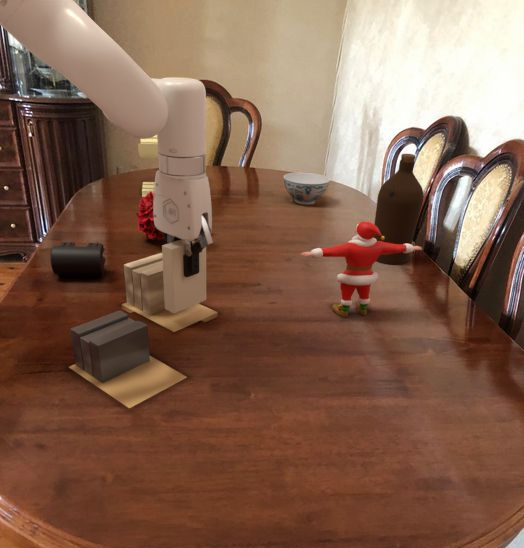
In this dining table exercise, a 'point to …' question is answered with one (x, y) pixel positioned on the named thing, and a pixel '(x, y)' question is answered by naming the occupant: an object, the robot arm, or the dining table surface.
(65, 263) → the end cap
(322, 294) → the dining table surface
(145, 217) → the carnation
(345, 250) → the santa figurine
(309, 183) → the chinaware
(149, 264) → the cream book stand
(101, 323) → the grey book stand
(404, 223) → the olive oil
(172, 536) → the dining table surface
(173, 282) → the cream book
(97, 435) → the dining table surface
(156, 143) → the slatted curved stool
